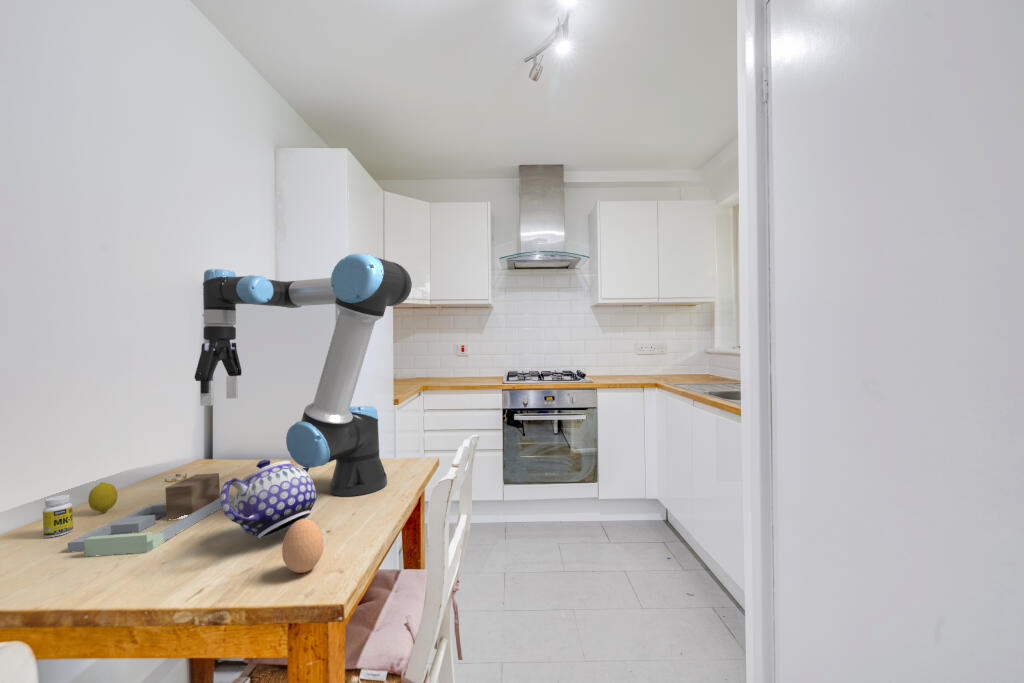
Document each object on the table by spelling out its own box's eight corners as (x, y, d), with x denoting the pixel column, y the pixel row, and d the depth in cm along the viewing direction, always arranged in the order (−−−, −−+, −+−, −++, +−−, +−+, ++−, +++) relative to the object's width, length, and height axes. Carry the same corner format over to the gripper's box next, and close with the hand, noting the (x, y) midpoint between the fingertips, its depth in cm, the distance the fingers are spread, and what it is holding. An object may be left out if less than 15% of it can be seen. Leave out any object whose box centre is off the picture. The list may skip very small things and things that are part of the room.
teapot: (265, 525, 78) (237, 450, 82) (204, 564, 80) (179, 489, 84) (352, 495, 102) (326, 438, 106) (302, 525, 104) (279, 469, 108)
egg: (309, 582, 74) (306, 527, 74) (274, 580, 75) (271, 526, 75) (332, 562, 80) (329, 512, 80) (299, 561, 81) (297, 512, 81)
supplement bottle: (53, 538, 98) (52, 501, 98) (37, 538, 99) (36, 500, 99) (78, 529, 103) (77, 494, 103) (63, 529, 104) (61, 493, 104)
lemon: (114, 507, 117) (113, 477, 117) (120, 511, 114) (119, 480, 114) (86, 514, 113) (85, 483, 113) (91, 518, 110) (90, 486, 110)
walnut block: (197, 504, 117) (195, 474, 117) (220, 502, 117) (218, 473, 117) (166, 520, 106) (165, 487, 106) (192, 519, 106) (191, 486, 106)
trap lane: (163, 505, 117) (162, 492, 117) (232, 500, 118) (232, 487, 118) (53, 559, 87) (52, 541, 87) (147, 552, 88) (146, 535, 88)
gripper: (227, 326, 134) (227, 395, 134) (177, 324, 109) (177, 409, 109) (254, 326, 135) (254, 395, 135) (210, 324, 110) (210, 408, 110)
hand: (220, 401), depth 122 cm, fingers open, 13 cm apart
